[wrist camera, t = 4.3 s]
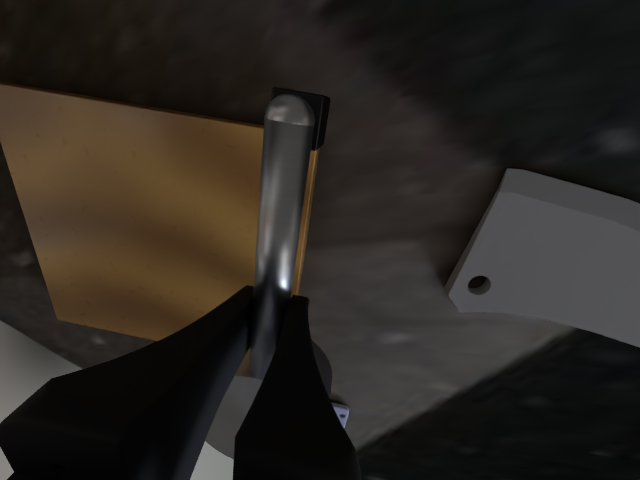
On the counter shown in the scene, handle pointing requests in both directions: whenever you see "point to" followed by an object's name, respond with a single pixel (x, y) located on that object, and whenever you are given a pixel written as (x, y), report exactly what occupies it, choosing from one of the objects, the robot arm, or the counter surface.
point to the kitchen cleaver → (555, 257)
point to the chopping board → (137, 207)
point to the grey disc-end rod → (275, 249)
